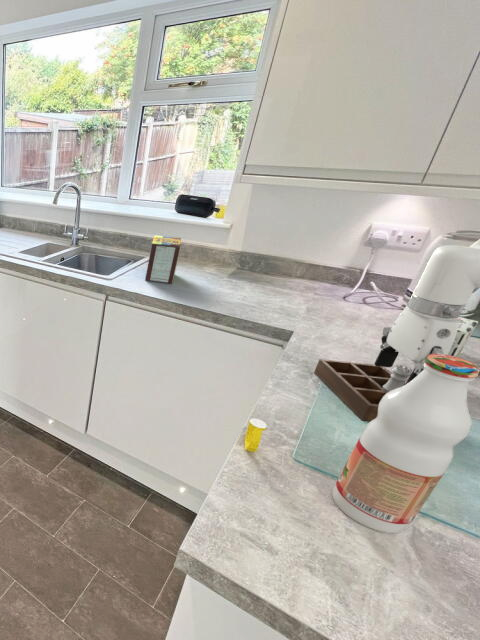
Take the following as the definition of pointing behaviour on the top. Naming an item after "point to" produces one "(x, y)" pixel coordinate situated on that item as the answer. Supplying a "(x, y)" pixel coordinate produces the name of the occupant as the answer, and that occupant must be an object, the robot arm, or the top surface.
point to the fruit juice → (407, 446)
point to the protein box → (163, 259)
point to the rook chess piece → (397, 378)
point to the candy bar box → (461, 336)
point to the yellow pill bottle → (254, 434)
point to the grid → (355, 385)
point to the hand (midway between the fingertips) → (397, 377)
